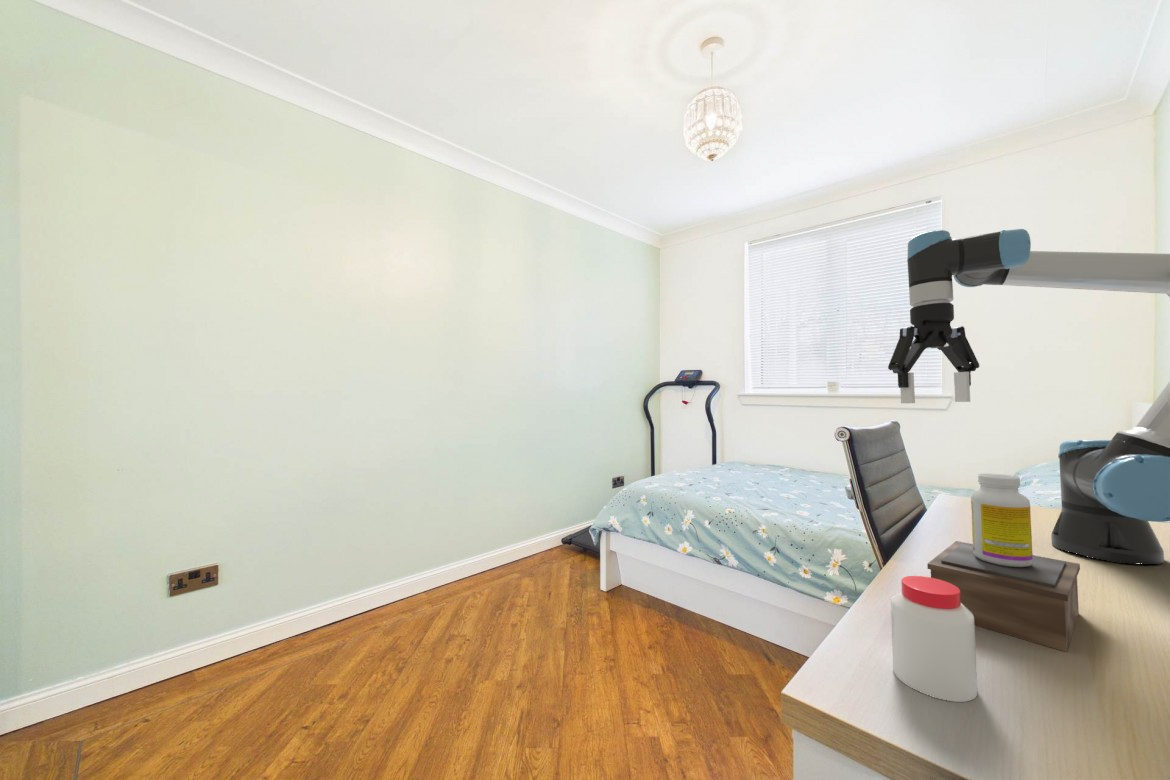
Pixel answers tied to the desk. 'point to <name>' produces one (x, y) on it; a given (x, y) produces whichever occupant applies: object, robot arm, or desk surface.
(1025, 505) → the supplement bottle
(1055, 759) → the desk surface
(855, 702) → the desk surface
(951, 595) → the pill bottle
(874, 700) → the desk surface
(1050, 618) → the walnut box
